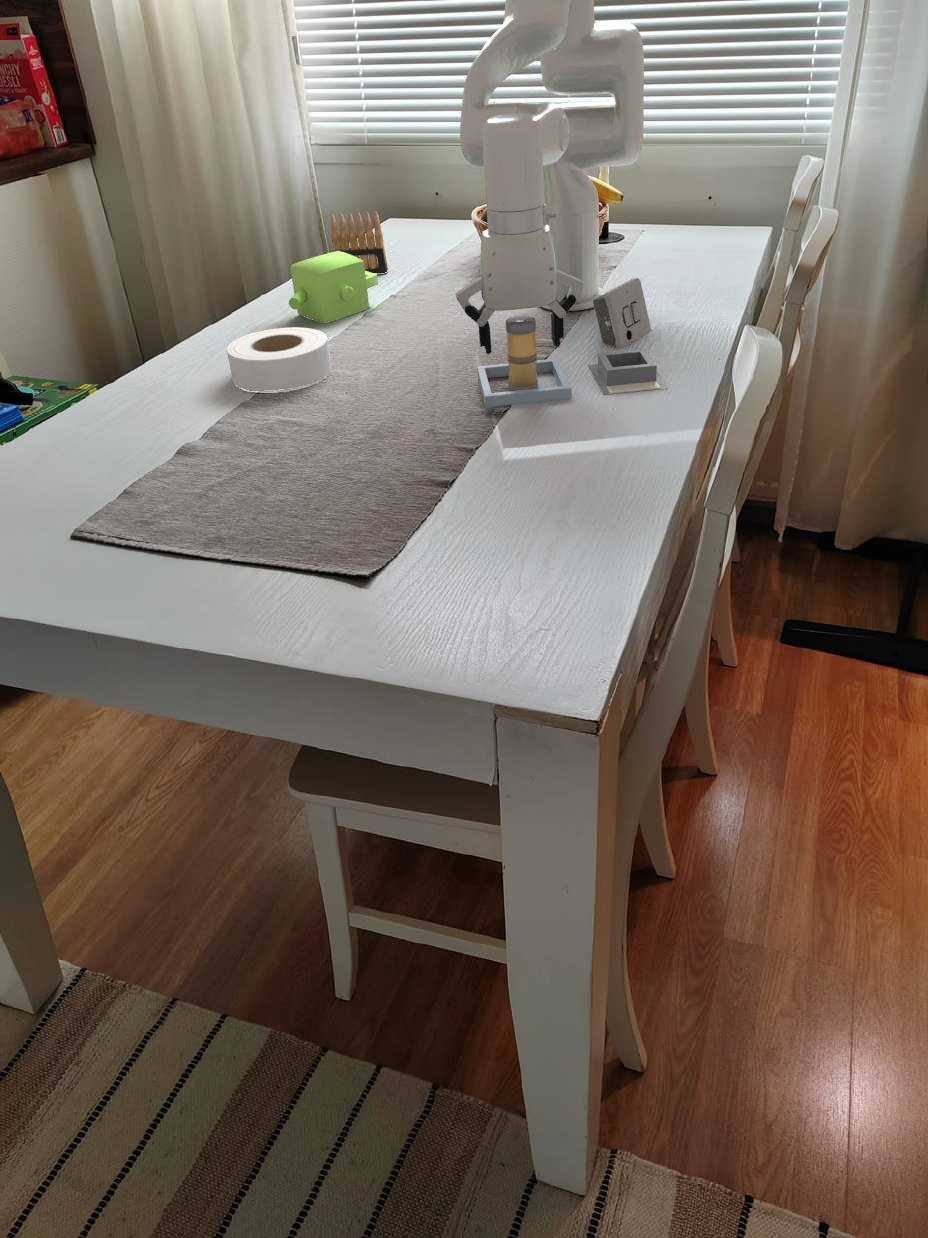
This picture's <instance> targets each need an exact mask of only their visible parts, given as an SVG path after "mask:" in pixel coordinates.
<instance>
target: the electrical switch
mask: <svg viewBox="0 0 928 1238" xmlns="http://www.w3.org/2000/svg"><path fill="white" fill-rule="evenodd" d="M593 304H594V307H593V309H594V313H595V316H596V319H597V325H598V329H599V332H600V333H599V334H600V337H601V341H602V343H604V344H610V345H614V346H615V347H616V348H621V349H622V348H624V347H626V346H628V345H630V344H631V343H633V342H634V341H636V340H638V339H639V338H641V337H643V336H644V335H646V334H648V333H649V332H651V331H652V327H651V322H650V318H649V313H648V309H647V304H646V300H645V295H644V290H643V287H642V281H641V279H640V278H639V277H634V278H632V279H629V280H628V281H626V282H623V283H622V284H620V285H618V286H615V287H614V288H612V289H609V290H608V291H607V292H606V293H605V294H604V295H602V296H600V297H598V298H596V299H594V300H593Z"/></svg>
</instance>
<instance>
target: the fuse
mask: <svg viewBox="0 0 928 1238" xmlns="http://www.w3.org/2000/svg"><path fill="white" fill-rule="evenodd" d="M536 330H537V319H536V317H533V316H530V315H517V316H511V317H508V318H507V319H506V320H505V331H506V344H507V348H506V349H507V363H508V368H509V376H508V390H509V391H518V390H528V389H538V388H539V380H538V373H537V361H536V360H537V359H538V355H537V340H536V338H537V337H536Z"/></svg>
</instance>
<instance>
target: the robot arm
mask: <svg viewBox="0 0 928 1238" xmlns="http://www.w3.org/2000/svg"><path fill="white" fill-rule="evenodd" d="M644 55H645V54H644V45H643V39H642V36H641V32H640V31H639V29H638V28H637V27H636V26H635V24H634V25H633V24H632V23H629V22H607V23H606V22H605V23H597V22H596V20H595V0H505V3H504V18H503V23H502V25H501V27H499V29H498V30H496V32H494V33H493V34H492V36H491V37H490V38H489V39H488V41H486V43H485V44H484V45H483V47H482V48H481V50H480V51H479V52H478V54H477V56H476V57H475V59H474V60H473V62H472V63H471V66H470V68H469V70H468V73H467V75H466V78H465V82H464V87H463V92H462V103H461V112H460V121H459V122H460V125H459V142H460V148H461V151H462V154H463V157H464V158H465V160H466V162H468V163H469V164H470V165H472V166H473V167H477V168H483V170H484V171H483V172H484V184H485V185H484V186H485V203H486V220H487V221H486V222H487V229H485V230H484V231H482V234H481V241H480V255H479V256H480V257H479V259H480V261H479V263H480V266H479V267H480V277H478V278H476V279H475V280H473V281H472V282H470V283H469V284H467V285H466V286H465V287H463V288H461V289H459V290H457V292H456V294H455V297H456V300H457V302H458V303H459V305H460V306H461V309H462V310H463V311H464V313H465V314H466V315H467V316H468V317H469V318H470V319H471V320H473V321H474V322H475V323H476V325H478V335H479V336H478V338H479V347H484V350H485V353H486V354H485V355H490V354H491V353H492V339H491V327H490V323H489V320H490V318H491V317H492V316H493V314H494V313H495V312H503V311H506V312H507V311H513V310H523V309H524V310H525V309H532V308H533V309H534V308H543V309H546V310H550V311H552V312H551V313H550V325H551V326H550V327H551V333H550V334H551V341H552V343H553V345H554V347H557V348H559V347H560V346H561V339H564V338H565V334H564V333H565V331H564V329H565V328H564V322H565V321H564V318H565V317H566V315H567V313H568V312H576V311H582V310H589V309H594V304H593V300H594V299H596V298H598V297H600V296H602V295H604V294H605V293H606V292H608V291H607V290H606V289H604V288H603V287H600V285H599V284H600V283H599V282H600V281H599V280H600V279H599V276H600V275H599V274H600V273H599V272H600V271H599V269H600V268H599V262H600V261H599V260H600V259H599V257H600V254H599V253H600V252H599V250H600V249H599V247H600V244H599V238H600V235H599V234H600V231H599V230H600V229H599V228H600V226H599V224H600V222H599V221H600V217H599V216H600V215H599V213H600V212H599V211H600V206H599V205H600V201H599V200H600V198H599V193H598V189H597V187H596V185H595V183H594V182H593V181H592V179H591V178H590V177H589V175H588V174H587V172H586V171H585V170H584V169H589V168H605V167H607V168H608V167H625V166H630V165H632V164H634V163H635V162H637V161H638V159H639V158H640V156H641V154H642V150H643V141H644V121H645V120H644V119H645V118H644V111H645V110H644V106H645V105H644V104H645V103H644V102H645V101H644V98H645V97H644V95H645V91H644V90H645V89H644V88H645V87H644V85H645V82H644V81H645V80H644V79H645V78H644V77H645V57H644ZM538 60H540V73H541V79H542V83H543V86H544V88H545V89H546V91H547V92H549V93H551V94H552V95H557V96H581V95H582V96H584V95H587V96H588V95H602V94H605V95H606V94H608V95H610V96H611V97H612V99H613V101H592V102H591V101H583V102H582V101H581V102H566V103H565V102H564V103H559V104H556V103H553V102H548V101H547V102H546V101H545V102H542V101H541V102H540V101H538V102H510V103H509V102H507V103H489V102H490V98H491V96H493V93H494V92H495V90H496V89H497V88H498V86H499V85H501V83H503V81H505V80H506V79H507V78H508V77H510V76H511V75H513V74H515V73H516V72H518V71H520V70H522V69H524V68H525V67H527V66H528V65H530V64H533V63H534V62H536V61H538ZM480 291H481V292H480ZM479 292H480V293H481V298H482V300H483V303H482V305H481V306H480V307H479V309H478V308H477V307H476V306H475V305H473V304H472V303H471V301H470V298H471V297H472V296H474V295H476V294H477V293H479Z"/></svg>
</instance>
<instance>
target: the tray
mask: <svg viewBox="0 0 928 1238" xmlns="http://www.w3.org/2000/svg"><path fill="white" fill-rule="evenodd" d="M536 361H537V374H539V373H550V372H552V374H553V376H554V379H555V382H556V383H557V385H558V386H550V387H549V386H548V387H538V388H537V389H528V390H518V391H510V390H509V391H499V392H492V391H491V386H490V383H489V380H488V379H491V378H500V377H509V368H508V362H506V363H498V364H488V365H478V366H476V369H477V371H476V372H477V379H478V380H477V381H478V386H479V391H480V394H481V395H480V396H481V399H482V403H483V407H484V411H485V414H486V413H487V414H495V410H494V407H500V406H501V407H503V406H510V405H521V404H522V405H523V404H532V403H539V402H540V403H541V402H542V403H543V402H550V401H559V400H569V399H570V400H571V399H572V386H571V384H570V383H569V380H568V377H567V375H566V374H565V371H564V369H563V367H562V365H561V363H560V362H561V361H560V360H559V358H558V357H557V358H547V359H538V360H537V359H536Z"/></svg>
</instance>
